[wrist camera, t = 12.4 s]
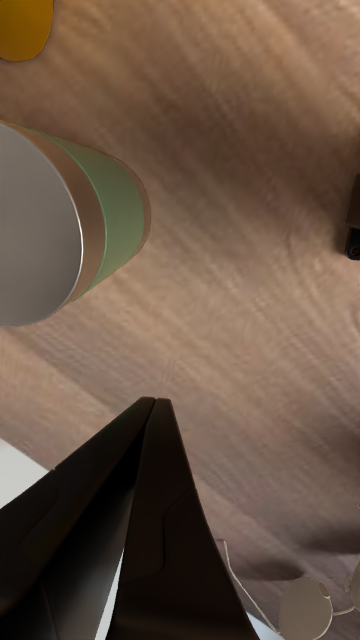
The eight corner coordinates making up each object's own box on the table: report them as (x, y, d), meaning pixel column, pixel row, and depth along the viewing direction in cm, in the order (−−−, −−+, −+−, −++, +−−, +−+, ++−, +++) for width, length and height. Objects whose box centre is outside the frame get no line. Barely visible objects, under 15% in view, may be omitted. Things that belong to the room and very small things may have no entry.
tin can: (150, 152, 17) (69, 105, 8) (153, 269, 20) (94, 334, 11) (39, 152, 18) (-152, 110, 9) (56, 265, 20) (-78, 323, 11)
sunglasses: (273, 588, 31) (277, 651, 26) (220, 529, 31) (213, 582, 26) (406, 540, 26) (439, 607, 21) (345, 469, 26) (365, 521, 21)
